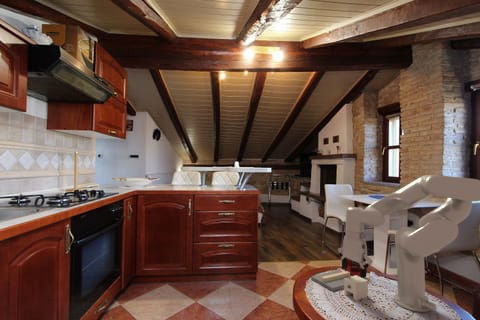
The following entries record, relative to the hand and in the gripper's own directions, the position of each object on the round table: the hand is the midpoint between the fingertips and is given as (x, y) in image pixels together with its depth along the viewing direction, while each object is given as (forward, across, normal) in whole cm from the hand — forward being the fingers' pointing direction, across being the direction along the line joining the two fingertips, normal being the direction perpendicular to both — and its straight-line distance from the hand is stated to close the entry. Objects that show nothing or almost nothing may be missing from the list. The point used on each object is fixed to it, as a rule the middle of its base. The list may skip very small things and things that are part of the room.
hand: (353, 272), depth 108 cm
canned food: (+10, +16, -20) cm, 27 cm away
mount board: (+10, +13, -4) cm, 17 cm away
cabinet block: (+10, -1, -1) cm, 10 cm away
